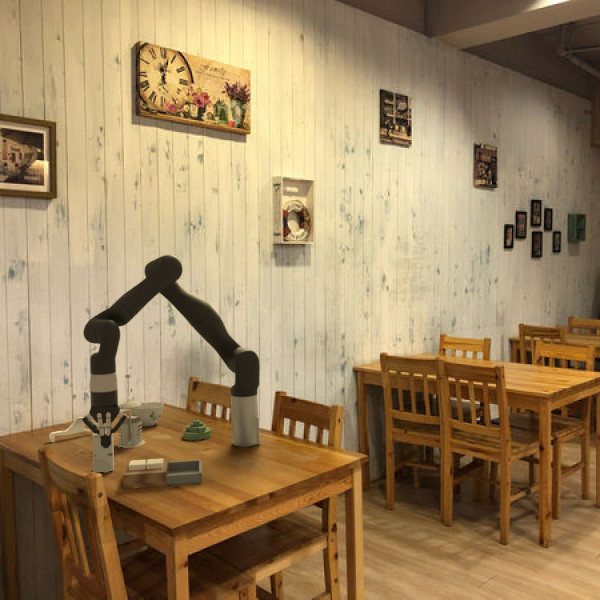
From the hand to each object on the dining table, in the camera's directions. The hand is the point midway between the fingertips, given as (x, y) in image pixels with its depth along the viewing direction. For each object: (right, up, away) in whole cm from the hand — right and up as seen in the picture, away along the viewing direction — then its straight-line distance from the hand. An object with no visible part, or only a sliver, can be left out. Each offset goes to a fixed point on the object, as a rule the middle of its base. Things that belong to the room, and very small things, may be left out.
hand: (106, 447), depth 185 cm
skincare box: (-4, -10, +12) cm, 16 cm away
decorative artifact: (+19, -8, +48) cm, 52 cm away
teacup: (-5, -7, +68) cm, 68 cm away
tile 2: (+14, -6, +2) cm, 15 cm away
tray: (+22, -10, +4) cm, 25 cm away
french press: (-3, -8, +40) cm, 41 cm away
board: (+11, -10, +2) cm, 15 cm away
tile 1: (+9, -6, +2) cm, 11 cm away
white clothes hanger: (-27, -9, +51) cm, 58 cm away
